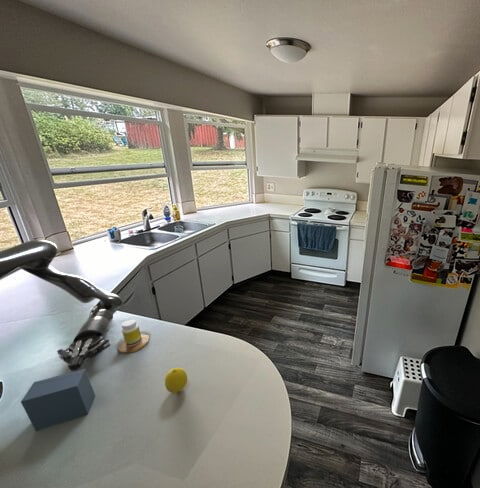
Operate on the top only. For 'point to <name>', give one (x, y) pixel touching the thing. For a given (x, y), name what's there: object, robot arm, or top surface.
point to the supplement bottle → (131, 332)
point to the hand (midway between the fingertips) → (73, 368)
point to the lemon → (175, 380)
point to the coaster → (130, 349)
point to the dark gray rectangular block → (58, 399)
